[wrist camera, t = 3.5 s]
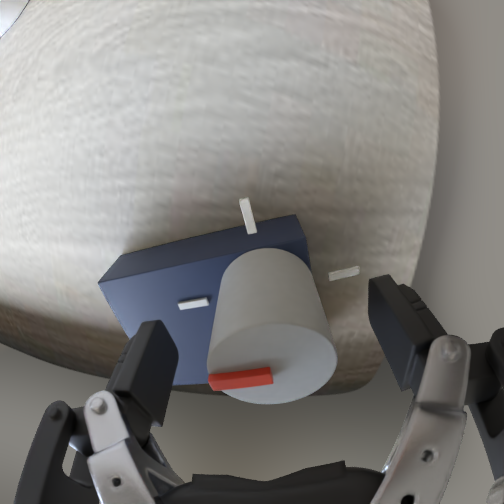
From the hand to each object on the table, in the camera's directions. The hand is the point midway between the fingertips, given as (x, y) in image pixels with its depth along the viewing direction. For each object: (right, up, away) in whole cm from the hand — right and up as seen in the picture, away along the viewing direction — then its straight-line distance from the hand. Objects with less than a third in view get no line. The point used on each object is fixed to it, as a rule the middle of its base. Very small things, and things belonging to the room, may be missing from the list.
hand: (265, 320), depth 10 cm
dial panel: (-2, +1, +5) cm, 5 cm away
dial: (0, +1, +2) cm, 2 cm away
